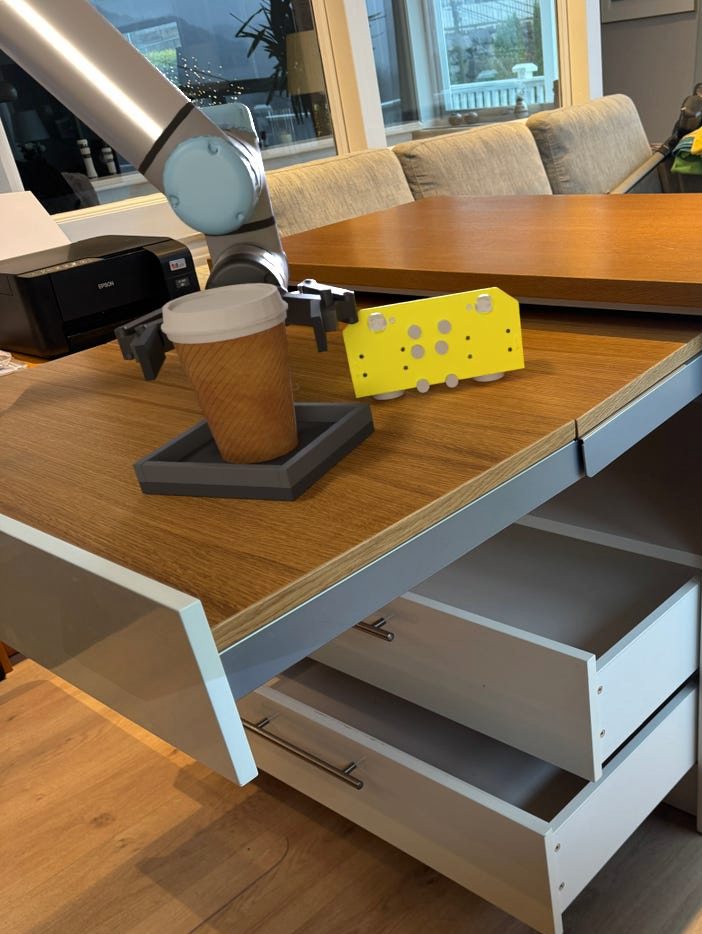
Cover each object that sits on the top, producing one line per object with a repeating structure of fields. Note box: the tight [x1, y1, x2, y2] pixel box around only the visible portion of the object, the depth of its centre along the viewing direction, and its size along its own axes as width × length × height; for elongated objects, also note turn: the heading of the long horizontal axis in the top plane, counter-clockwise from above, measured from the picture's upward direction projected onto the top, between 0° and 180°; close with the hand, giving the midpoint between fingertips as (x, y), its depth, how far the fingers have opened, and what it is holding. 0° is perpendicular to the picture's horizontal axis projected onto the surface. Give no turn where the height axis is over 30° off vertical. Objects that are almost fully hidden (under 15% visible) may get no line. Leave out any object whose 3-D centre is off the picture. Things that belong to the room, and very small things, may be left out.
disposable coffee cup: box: [161, 283, 299, 464], centre depth 70 cm, size 10×10×12 cm
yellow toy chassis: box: [341, 286, 525, 401], centre depth 83 cm, size 16×6×8 cm, turn 101°
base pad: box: [132, 402, 376, 502], centre depth 73 cm, size 14×14×2 cm
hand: (232, 348), depth 70 cm, fingers open, 13 cm apart
